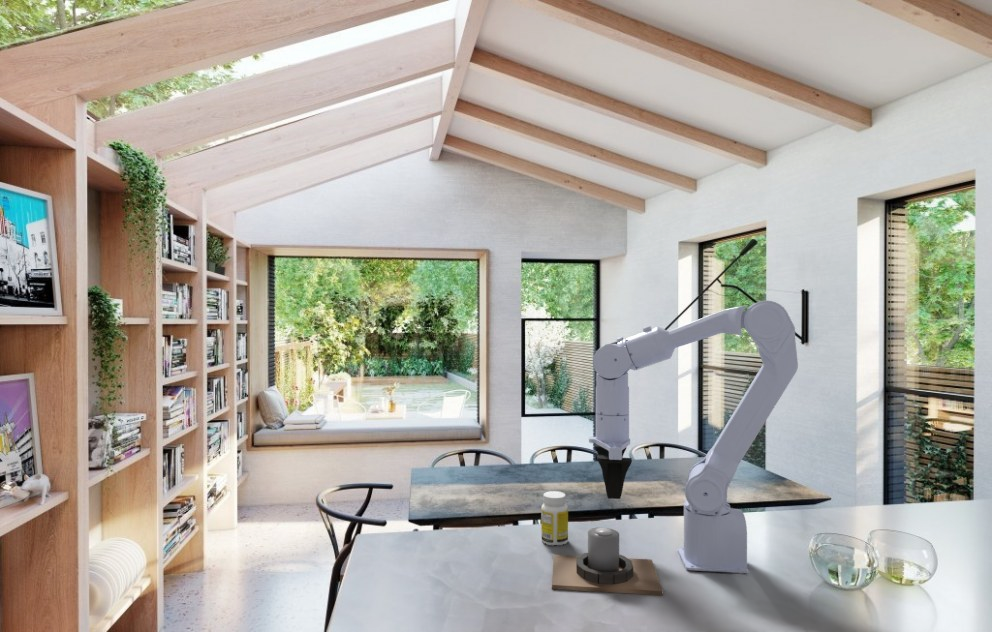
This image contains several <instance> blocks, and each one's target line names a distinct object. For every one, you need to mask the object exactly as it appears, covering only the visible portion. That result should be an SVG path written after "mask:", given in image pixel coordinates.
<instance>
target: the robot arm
mask: <svg viewBox="0 0 992 632" xmlns="http://www.w3.org/2000/svg"><path fill="white" fill-rule="evenodd" d="M748 306H749V304H746V305H742V306H740V305H739V306H736V307H730V308H725V309H723V310H720V311H719V310H718V311H717V312H714V313H710V314H708V315H706V316H703V317H702V318H699V319H696V320H694V321H691V322H689V323H686V324H682V325H680V326H678V327H676V328H673V329H670V330H666V329H664V328H662V327H660V326H655V327H652V326H651V325H648V326H646V327H643V328H642V331H643V332H642V331H641V332H639V333H636V334H634V335H631V336H629V337H626V338H624V337H623V336H621V337H617V339H616V342H617V343H606V344H604V345H603V346H601V347H599V348H598V349H597V350H596V351H595V352H594V355H593V358H592V367H593V369H594V371H595V372H596V375H595V376H596V377H595V383H596V385H595V436H589V437H588V442H589V443H590V444H594V448H595V450H596V452H597V455H596V458H597V463H598V464H599V466H600V469H601V472H602V473H601V474H602V479H603V483H604V487H605V491H606V493H605V494H606V497H607V499H608V500H609V499H610V500H611V499H613V500H620V499H621V496H622V494H623V490H624V489H623V488H624V483H625V479H626V475H627V474H628V471H629V468H630V467H631V464H632V462H633V460H632V457H624V454H625V452H626V451H627V447H628V446H630V444H631V438H630V386H629V371H630V370H632V371H637V370H641V369H643V368H647V367H650V366H653V365H655V364H659V363H660V362H664V361H666V360H669V359H671V358H672V356H673V353H674V352H675V349H676V348H679V347H683V346H686V345H689V344H692V343H695V342H699V341H701V340H704V339H708V338H710V337H714V336H716V335H720V334H728V335H734V336H735V335H737V336H742V335H743V333H742V331H743V330H742V329H745V332H747V333H748V335H749V337H750V338H751V339H752V341H753V342H754V343H755V344H756V348H757V351H758V354H759V357H760V359H761V362H762V364H761V367H760V368H759V370H758V371H757V373H756V375H755V376H754V378H753V379H752V382H751V383H750V385H749V387H748V388H747V390H746V391H745V393H744V394H743V396H742V398H741V400H740V401H739V402H738V405H737V406H736V407H735V409H734V411H733V413H732V415H731V416H730V418H729V419H728V421H727V423H726V425H725V426H724V427H723V429H722V431H721V432H720V434H719V435H718V437H717V439H716V440H715V442H714V444H713V445H712V447H711V448H710V450H708V452H707V453H706V455H705V456H704V458H702V460H700V461H699V462H696V463H695V464H694V465H692V467H691V468H690V470H689V472H688V481H687V482H686V484H685V487H684V495H685V499H686V500H684V501H683V547H678V548H677V553H678V555H679V557H680V559H681V561H682V563H683V566H684V567H685V569H686V570H687V571H696V572H698V571H700V572H715V573H717V572H719V573H720V572H721V573H734V574H735V573H737V574H748V573H749V569H748V527H747V520H746V517H745V514H744V512H743V510H742V509H740V508H739V509H738V508H733V507H731V505H730V503H728V501H727V500H728V488H729V486H730V485H731V482H732V481H733V479H734V477H735V475H736V472H737V470H738V467H739V465H740V463H741V462H742V460H743V459H744V457H745V455H746V454H747V452H748V451H749V449H750V448H751V446H752V444H753V443H754V441H755V439H756V437H757V436H758V434H759V433H760V431H761V429H762V428H763V427H764V425H765V423H766V422H767V420H768V418H769V416H770V415H771V413H772V412H773V410H774V408H775V407H776V405H777V403H778V402H779V400H780V399H781V397H782V395H783V394H784V393H785V391H786V389H787V387H788V386H789V384H790V382H791V381H792V380H793V378H794V377H795V375H796V373H797V372H798V368H799V361H798V355H797V354H798V352H797V351H798V350H797V344H796V343H797V342H796V327H795V324H794V323H793V321H792V319H791V317H790V315H789V313H788V311H787V310H786V309H785V307H784V306H782V305H781V304H780V303H778V302H776V301H772V300H760V301H758V302H755V303H753V304H751V305H750V306H749V307H748ZM747 307H748V308H747Z"/></svg>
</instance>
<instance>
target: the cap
mask: <svg viewBox="0 0 992 632" xmlns="http://www.w3.org/2000/svg"><path fill="white" fill-rule="evenodd" d="M587 553H588V568H589V569H593V570H596V571H600V572H615V571H619V554H620V532H619V531H617V530H615V529H613V528H609V527H595V528H590V529H589V530H588V531H587Z"/></svg>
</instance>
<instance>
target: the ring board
mask: <svg viewBox="0 0 992 632" xmlns="http://www.w3.org/2000/svg"><path fill="white" fill-rule="evenodd" d="M552 561H553V562H552V575H551V577H552V578H551V589H552V590H562V589H570V590H569V591H580V592H581V591H583V592H599V593H600V592H601V593H614V594H615V593H617V594H620V593H621V594H635V595H637V594H639V595H653V596H664V595H663V594H664V592H663V588H662V584H661V582H660V579H659V576H658V574H657V570H656V567H655V566H654V565H655V564H654V562H653V559H648V558H647V559H646V558H629V557H627V556H625V555H622V554H620V553H619V571H615V572H600V571H596V570H593V569H589V568H588V552H584V553H582V554H580V555H569V554H568V555H565V554H553V560H552Z"/></svg>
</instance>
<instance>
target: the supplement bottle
mask: <svg viewBox="0 0 992 632" xmlns="http://www.w3.org/2000/svg"><path fill="white" fill-rule="evenodd" d="M566 496H567V495H566V493H565V492H562V491H557V490H556V491H555V490H553V491H546V492H544V493H543V495H542V497H543V498H542V499H543V504H542V505H541V507H540V510H541V512H540V513H541V514H540V519H541V520H540V521H541V524H540V525H541V528H540V529H541V542H542V543H544V544H545V543H546V545H548V546H554V545H557V546H563V544H564V545H566V544H567V543H568V542H569V509H568V508H569V507H568V505H567V504H566V502H567V499H566V498H567V497H566Z"/></svg>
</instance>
